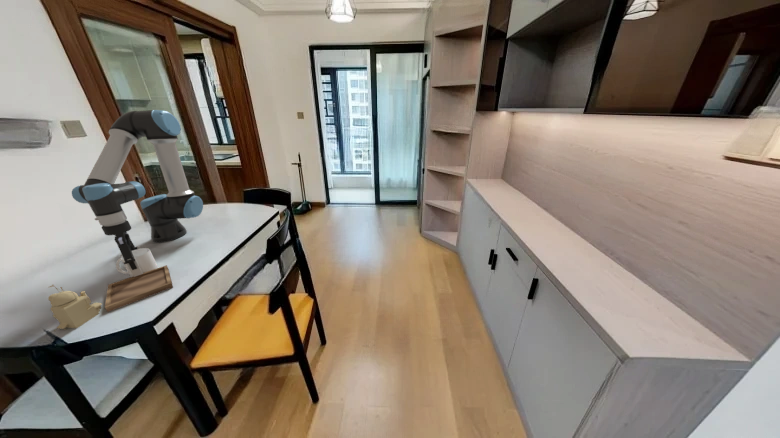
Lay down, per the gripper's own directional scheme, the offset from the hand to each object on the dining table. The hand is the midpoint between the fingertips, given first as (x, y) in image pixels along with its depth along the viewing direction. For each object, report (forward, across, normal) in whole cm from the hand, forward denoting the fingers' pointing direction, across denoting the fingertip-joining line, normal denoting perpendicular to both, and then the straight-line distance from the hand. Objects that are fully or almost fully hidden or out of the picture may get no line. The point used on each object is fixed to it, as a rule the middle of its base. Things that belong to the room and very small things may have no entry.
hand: (138, 269), depth 107 cm
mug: (+2, -1, 0) cm, 2 cm away
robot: (+3, +21, -16) cm, 26 cm away
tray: (+2, +14, 0) cm, 14 cm away
